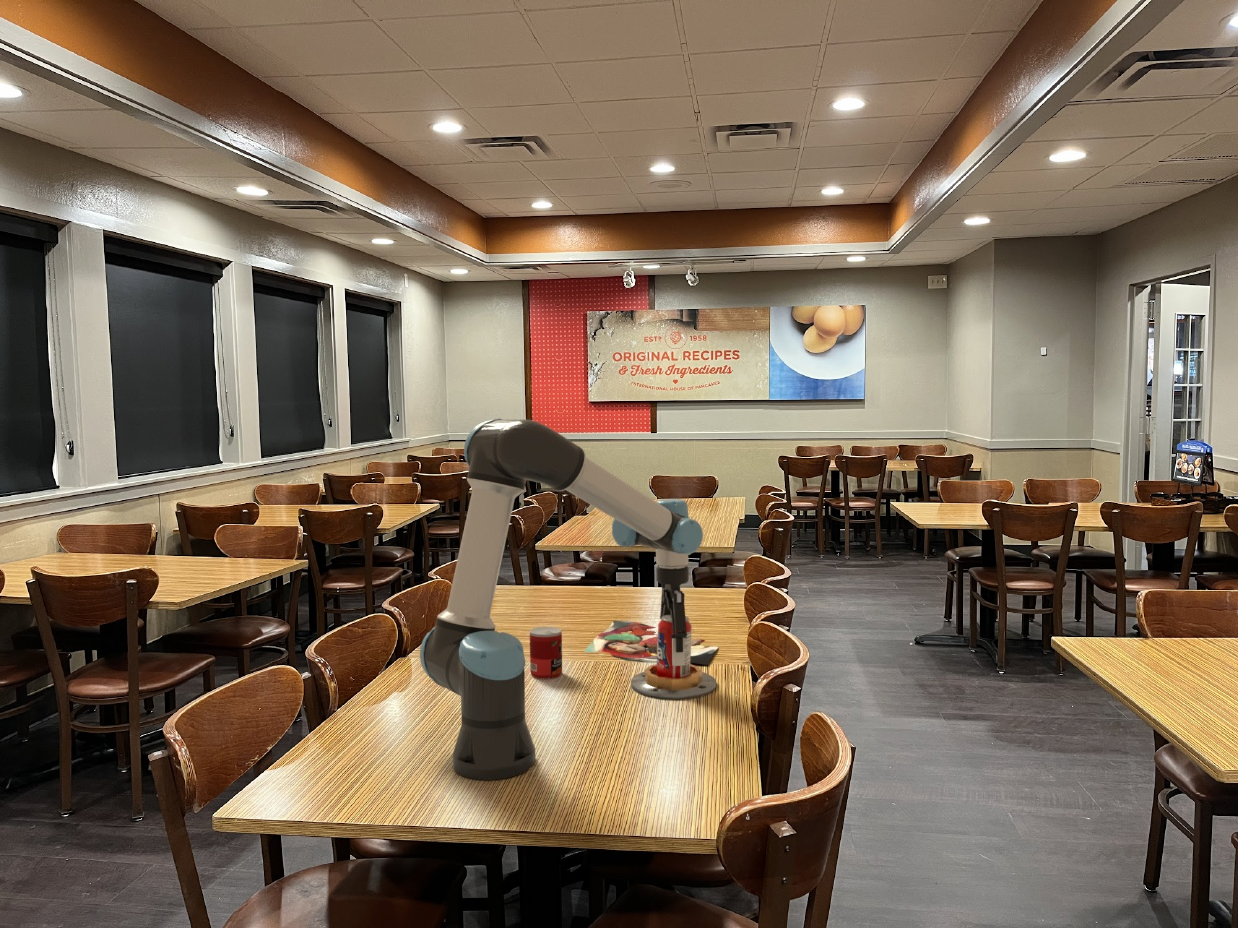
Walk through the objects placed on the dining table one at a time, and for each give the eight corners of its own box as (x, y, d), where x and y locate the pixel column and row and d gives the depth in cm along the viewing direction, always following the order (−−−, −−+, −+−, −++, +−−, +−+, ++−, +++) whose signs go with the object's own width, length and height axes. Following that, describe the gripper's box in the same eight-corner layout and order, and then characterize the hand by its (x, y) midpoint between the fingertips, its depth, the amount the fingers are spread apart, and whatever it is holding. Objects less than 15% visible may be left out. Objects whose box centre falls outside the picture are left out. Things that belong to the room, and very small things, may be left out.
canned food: (557, 679, 208) (557, 635, 207) (526, 678, 209) (525, 633, 208) (566, 670, 215) (565, 627, 214) (535, 668, 217) (534, 625, 216)
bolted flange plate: (726, 696, 194) (726, 681, 194) (638, 701, 191) (638, 686, 191) (704, 670, 214) (704, 656, 214) (624, 674, 211) (624, 660, 211)
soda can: (687, 687, 198) (689, 622, 197) (653, 683, 199) (656, 620, 198) (691, 676, 206) (693, 615, 205) (659, 673, 207) (661, 612, 206)
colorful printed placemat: (577, 659, 226) (577, 652, 226) (614, 627, 260) (614, 620, 260) (707, 668, 217) (707, 660, 217) (728, 633, 251) (728, 627, 250)
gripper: (700, 574, 190) (700, 671, 191) (677, 556, 213) (678, 643, 214) (666, 575, 189) (667, 673, 190) (647, 557, 212) (648, 645, 213)
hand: (673, 658), depth 202 cm, fingers open, 11 cm apart
